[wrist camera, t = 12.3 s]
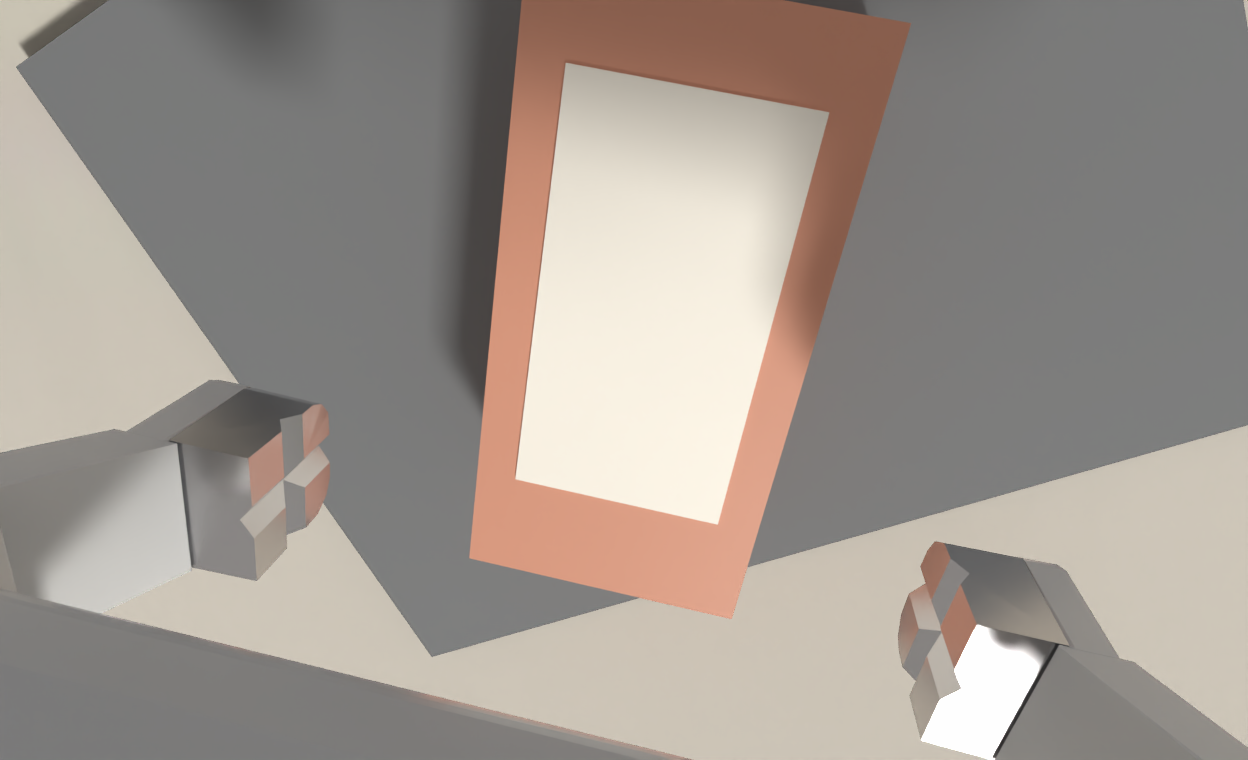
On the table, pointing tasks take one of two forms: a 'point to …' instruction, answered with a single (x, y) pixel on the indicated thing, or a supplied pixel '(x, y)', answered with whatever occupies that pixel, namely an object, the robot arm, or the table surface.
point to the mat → (858, 301)
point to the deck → (665, 278)
